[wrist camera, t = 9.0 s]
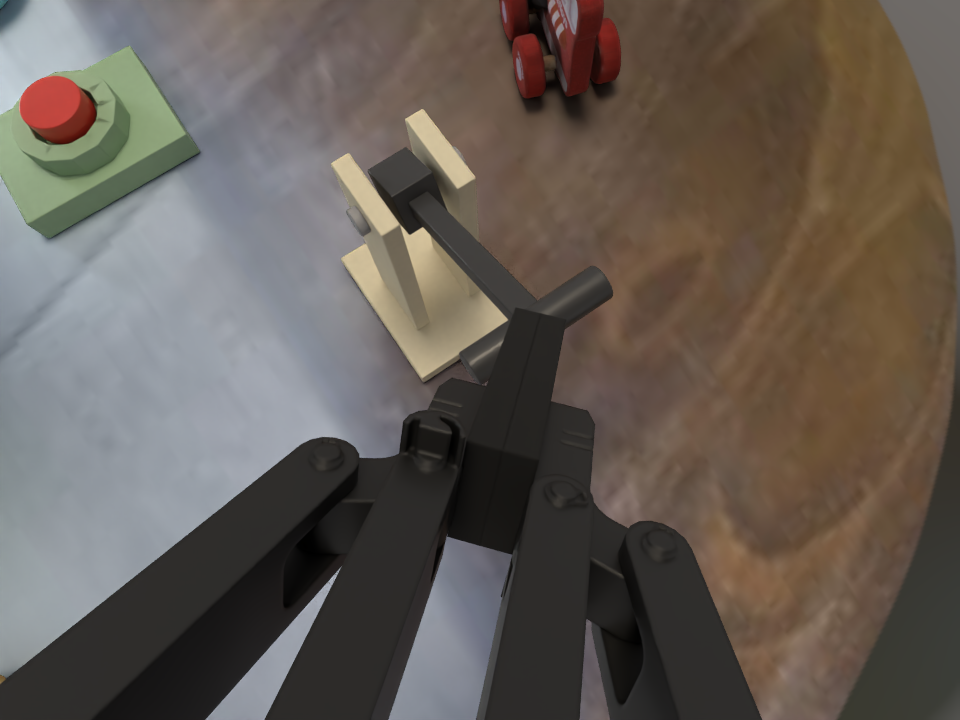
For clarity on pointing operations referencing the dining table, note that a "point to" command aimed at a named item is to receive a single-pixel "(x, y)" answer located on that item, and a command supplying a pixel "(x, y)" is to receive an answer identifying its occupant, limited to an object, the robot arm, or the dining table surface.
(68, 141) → the button
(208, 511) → the dining table surface
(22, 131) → the button block
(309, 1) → the dining table surface
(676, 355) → the dining table surface
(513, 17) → the red toy car
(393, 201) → the lever
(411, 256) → the bracket
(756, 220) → the dining table surface
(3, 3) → the cupcake
